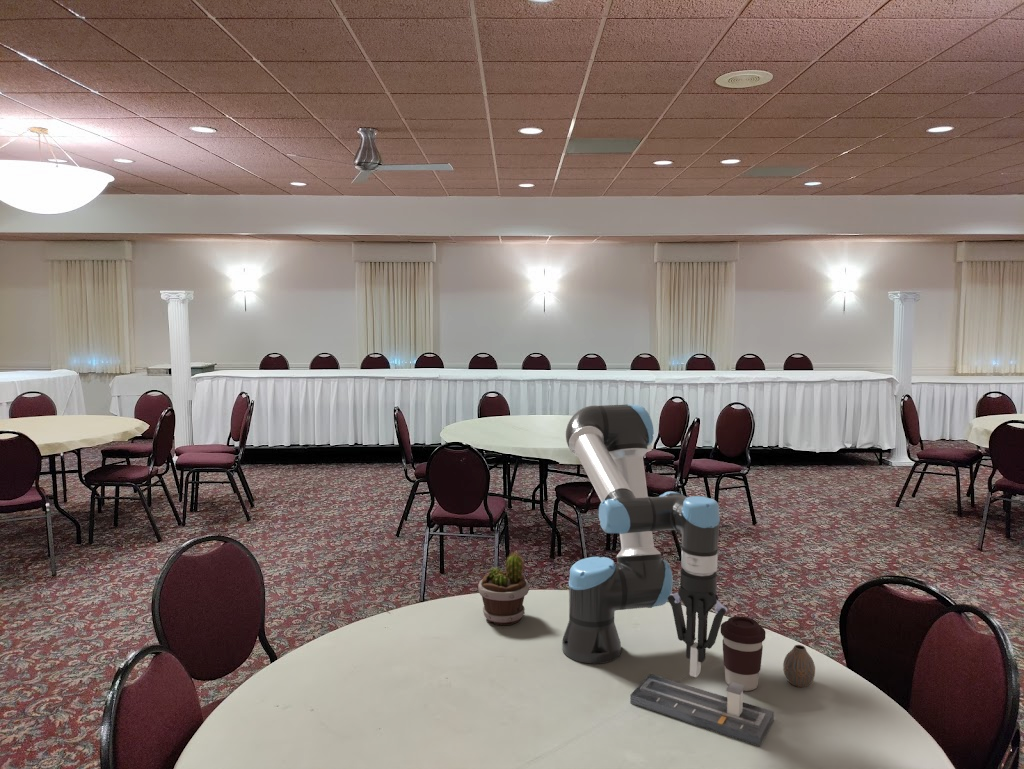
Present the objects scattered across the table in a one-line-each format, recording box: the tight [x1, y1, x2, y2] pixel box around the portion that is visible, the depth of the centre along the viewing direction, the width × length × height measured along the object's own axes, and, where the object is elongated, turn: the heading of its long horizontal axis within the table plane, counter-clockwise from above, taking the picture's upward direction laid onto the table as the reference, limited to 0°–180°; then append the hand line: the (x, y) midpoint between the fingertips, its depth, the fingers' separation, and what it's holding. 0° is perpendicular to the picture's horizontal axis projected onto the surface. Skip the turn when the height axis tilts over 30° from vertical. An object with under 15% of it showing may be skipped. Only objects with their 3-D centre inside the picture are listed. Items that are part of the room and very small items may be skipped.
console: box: [629, 673, 775, 747], centre depth 147 cm, size 28×11×3 cm, turn 55°
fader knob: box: [725, 682, 744, 717], centre depth 142 cm, size 3×3×6 cm
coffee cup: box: [720, 615, 766, 692], centre depth 158 cm, size 10×10×15 cm
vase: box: [782, 644, 816, 688], centre depth 159 cm, size 7×7×9 cm
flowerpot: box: [477, 549, 531, 626], centre depth 194 cm, size 14×15×20 cm
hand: (695, 673), depth 148 cm, fingers closed
